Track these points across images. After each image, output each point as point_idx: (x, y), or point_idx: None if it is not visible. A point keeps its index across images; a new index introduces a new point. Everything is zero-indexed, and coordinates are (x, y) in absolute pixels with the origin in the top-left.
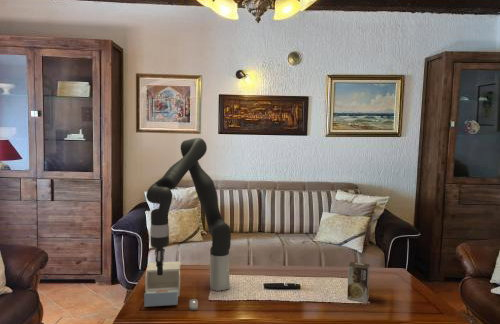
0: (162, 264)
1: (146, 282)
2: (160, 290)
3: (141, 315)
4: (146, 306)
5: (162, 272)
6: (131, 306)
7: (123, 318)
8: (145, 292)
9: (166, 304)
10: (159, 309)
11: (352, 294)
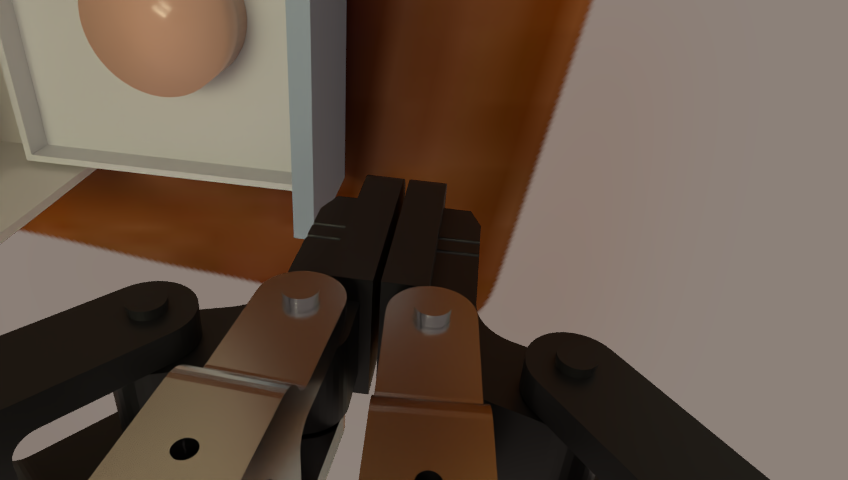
0: (589, 383)
1: (3, 208)
2: (100, 38)
3: (454, 189)
4: (344, 159)
5: (443, 206)
6: (276, 257)
7: None
8: (89, 174)
9: None
10: (367, 31)
11: None
